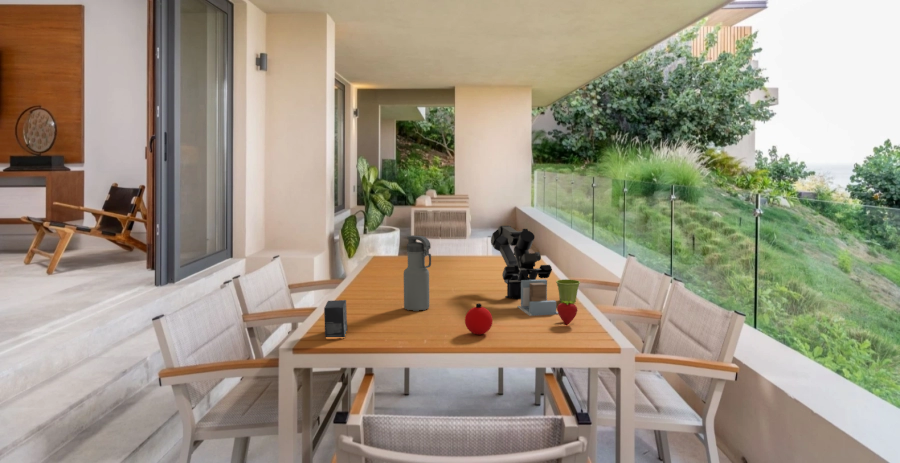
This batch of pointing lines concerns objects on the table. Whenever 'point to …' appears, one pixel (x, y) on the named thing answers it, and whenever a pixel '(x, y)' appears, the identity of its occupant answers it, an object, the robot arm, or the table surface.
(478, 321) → the ornament
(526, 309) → the light blue base plate
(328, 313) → the small box
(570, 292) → the plant pot
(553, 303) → the fixed jaw
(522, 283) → the jaw
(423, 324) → the table surface
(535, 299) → the block
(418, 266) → the water bottle
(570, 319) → the strawberry
